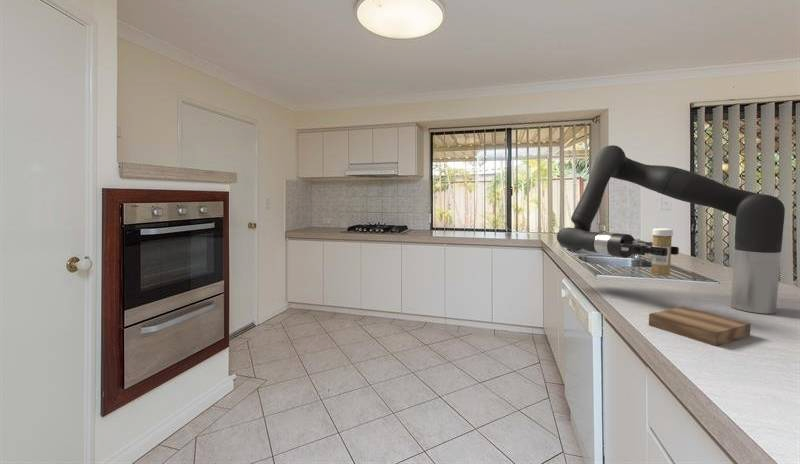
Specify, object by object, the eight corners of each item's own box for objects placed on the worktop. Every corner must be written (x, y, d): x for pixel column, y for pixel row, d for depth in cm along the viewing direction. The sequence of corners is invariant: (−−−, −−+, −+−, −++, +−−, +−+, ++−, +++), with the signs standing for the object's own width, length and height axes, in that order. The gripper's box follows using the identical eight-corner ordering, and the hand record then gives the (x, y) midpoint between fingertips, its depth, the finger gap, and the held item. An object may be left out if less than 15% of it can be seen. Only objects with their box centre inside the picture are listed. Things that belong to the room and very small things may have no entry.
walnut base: (681, 317, 93) (682, 306, 93) (749, 335, 80) (750, 323, 80) (648, 325, 88) (649, 313, 88) (715, 346, 75) (716, 332, 75)
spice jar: (672, 275, 98) (675, 228, 96) (666, 277, 95) (669, 229, 94) (654, 272, 102) (656, 227, 100) (647, 274, 99) (649, 228, 98)
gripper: (598, 234, 108) (656, 239, 92) (629, 232, 113) (688, 236, 97) (597, 257, 109) (655, 267, 93) (628, 254, 114) (687, 262, 98)
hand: (672, 251), depth 95 cm, fingers closed on spice jar, 4 cm apart
